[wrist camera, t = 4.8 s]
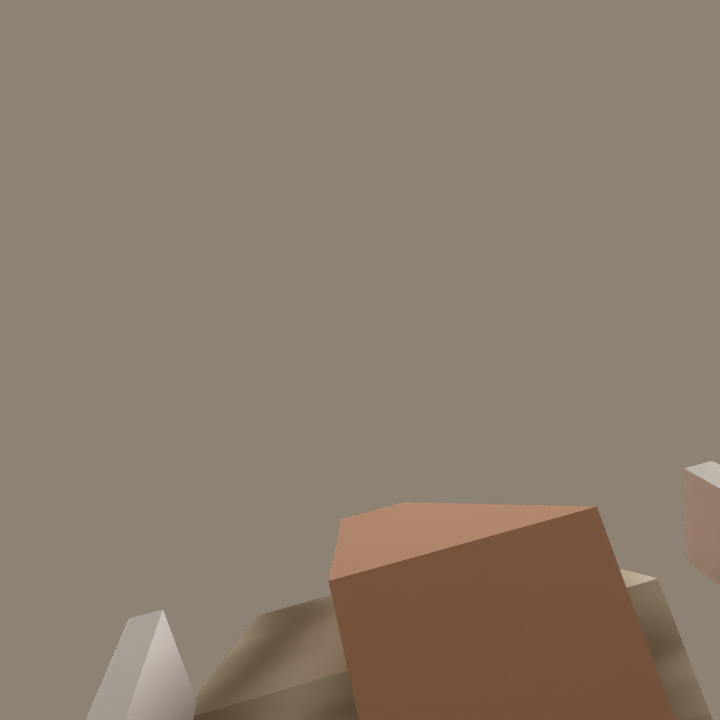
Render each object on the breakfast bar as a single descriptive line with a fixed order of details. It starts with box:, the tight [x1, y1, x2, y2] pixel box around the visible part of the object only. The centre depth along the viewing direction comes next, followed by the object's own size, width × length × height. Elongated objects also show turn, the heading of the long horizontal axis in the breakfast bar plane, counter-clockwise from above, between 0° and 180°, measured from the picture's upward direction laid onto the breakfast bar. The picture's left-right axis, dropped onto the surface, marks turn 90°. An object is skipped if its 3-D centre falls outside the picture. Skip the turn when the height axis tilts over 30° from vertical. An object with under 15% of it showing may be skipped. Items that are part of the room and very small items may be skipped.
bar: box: [329, 502, 675, 720], centre depth 18 cm, size 4×24×4 cm, turn 2°
